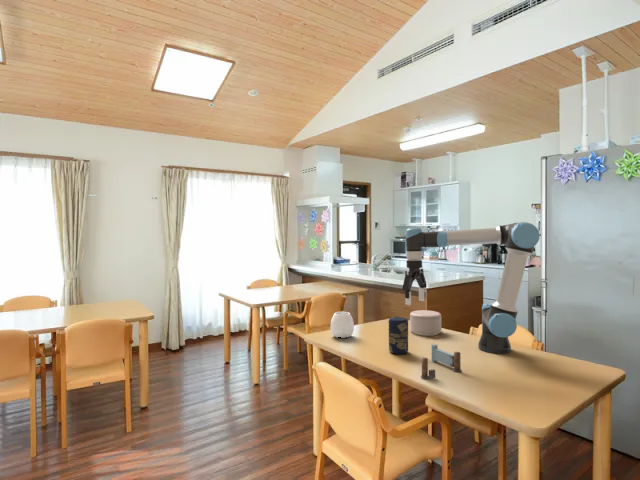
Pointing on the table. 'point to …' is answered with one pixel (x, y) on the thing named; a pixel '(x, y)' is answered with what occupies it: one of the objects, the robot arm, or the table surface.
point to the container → (425, 322)
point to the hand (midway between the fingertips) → (415, 303)
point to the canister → (398, 335)
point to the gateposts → (432, 371)
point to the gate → (442, 356)
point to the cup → (342, 324)
